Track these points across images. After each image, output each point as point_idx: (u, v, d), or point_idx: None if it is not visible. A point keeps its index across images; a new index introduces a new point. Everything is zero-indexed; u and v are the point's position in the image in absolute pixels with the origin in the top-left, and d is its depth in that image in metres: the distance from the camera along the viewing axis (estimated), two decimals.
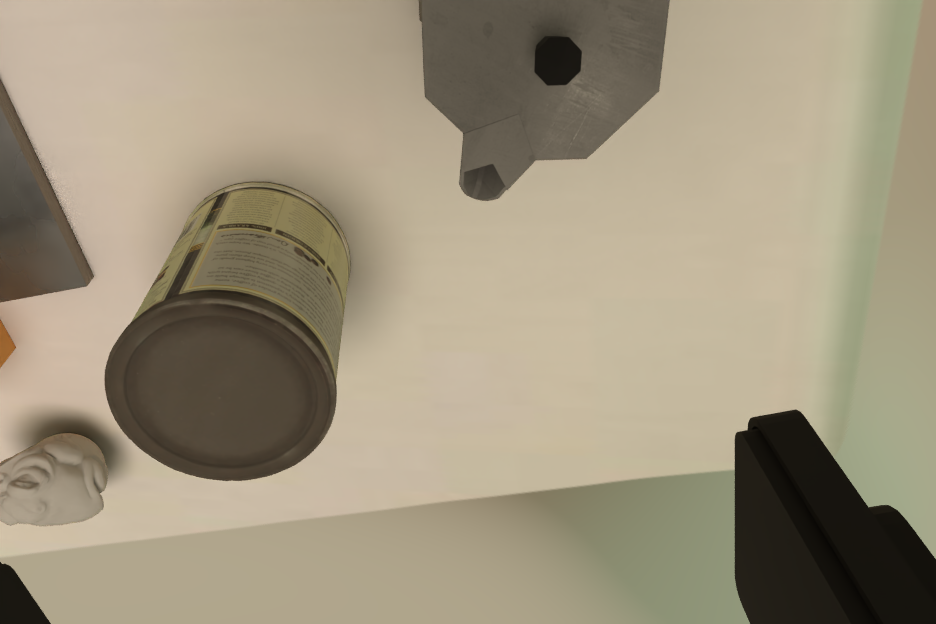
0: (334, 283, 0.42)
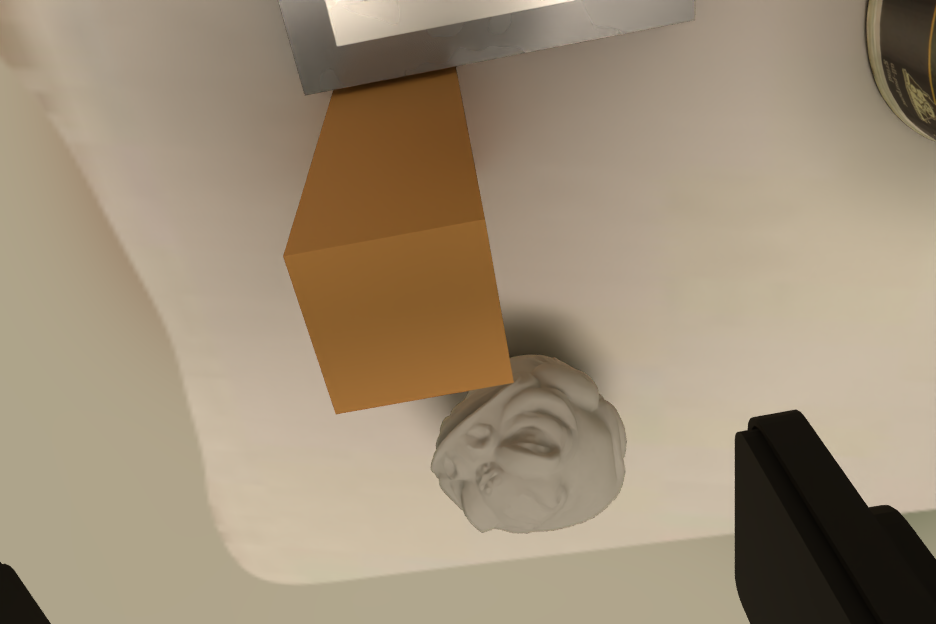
0: None
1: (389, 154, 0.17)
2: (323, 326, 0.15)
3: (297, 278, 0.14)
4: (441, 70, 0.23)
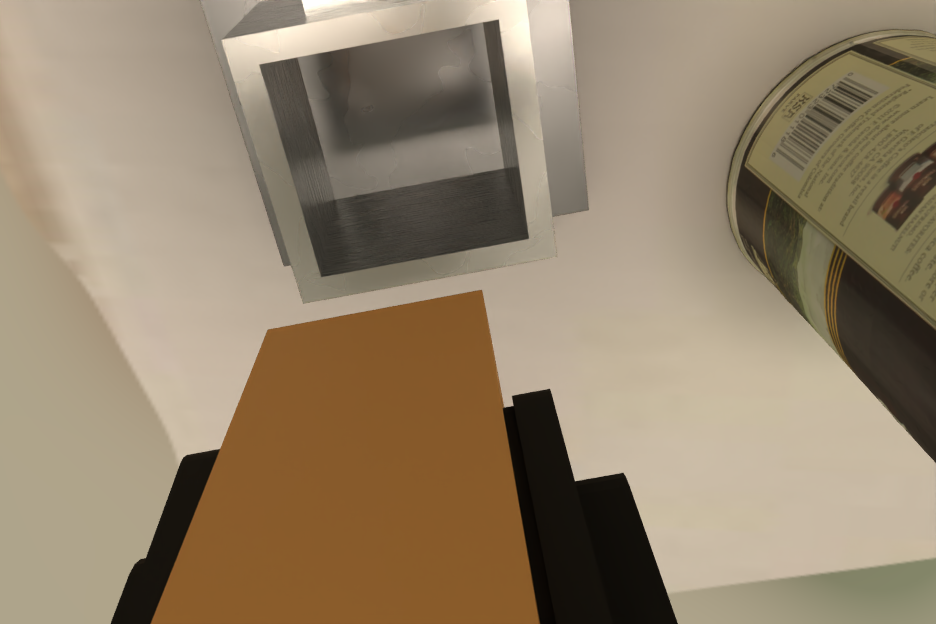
0: None
1: None
2: None
3: None
4: (458, 309, 0.12)
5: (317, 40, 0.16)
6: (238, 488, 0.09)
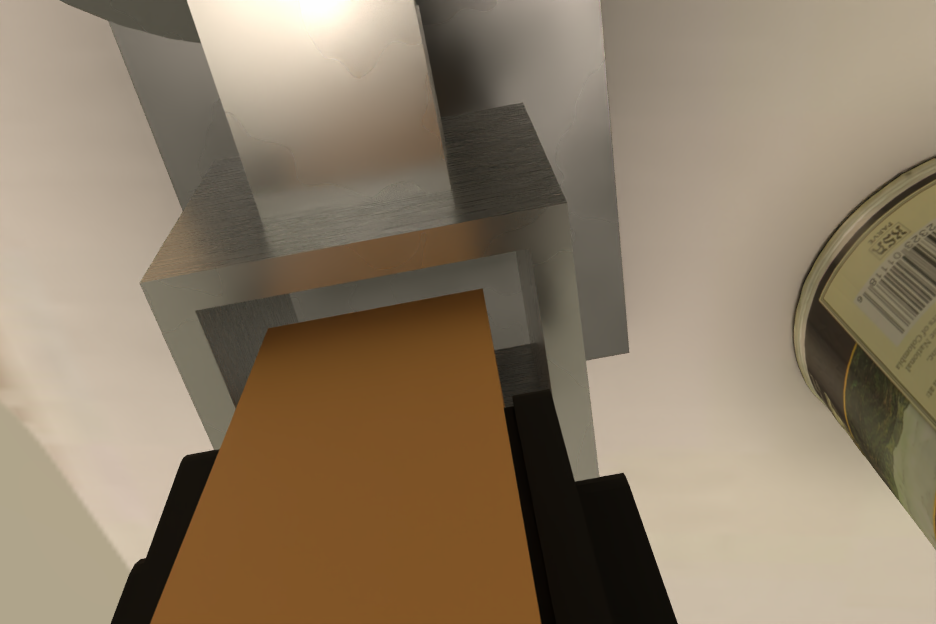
0: None
1: None
2: None
3: None
4: (459, 308, 0.12)
5: (275, 280, 0.11)
6: (238, 487, 0.09)
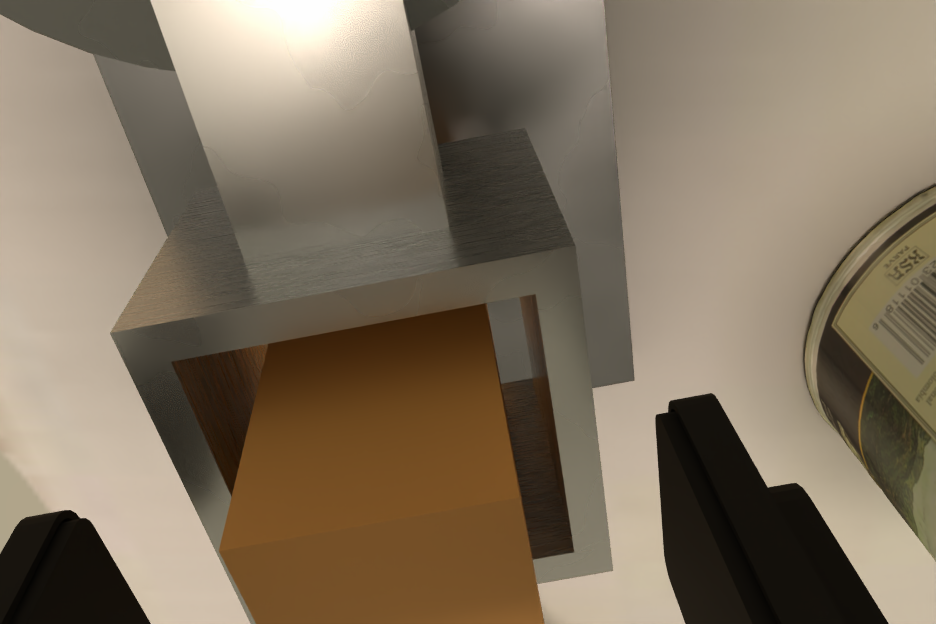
0: None
1: (376, 325, 0.13)
2: None
3: (241, 575, 0.10)
4: None
5: (258, 329, 0.11)
6: None
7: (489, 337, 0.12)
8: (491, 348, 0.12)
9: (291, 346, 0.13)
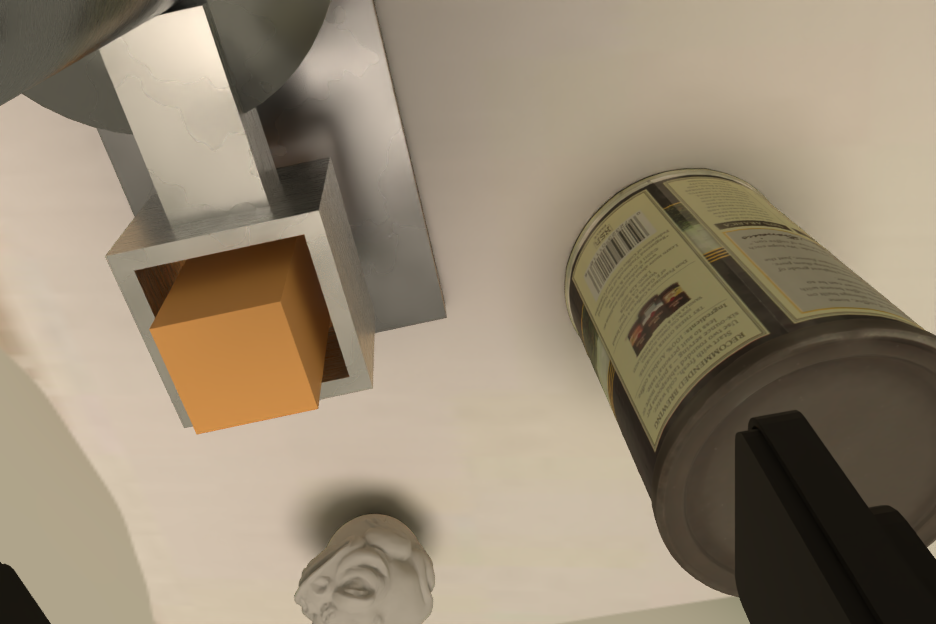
0: None
1: (240, 250, 0.25)
2: (181, 374, 0.22)
3: (160, 343, 0.21)
4: None
5: (174, 253, 0.23)
6: None
7: (292, 251, 0.24)
8: (291, 255, 0.24)
9: (196, 262, 0.25)
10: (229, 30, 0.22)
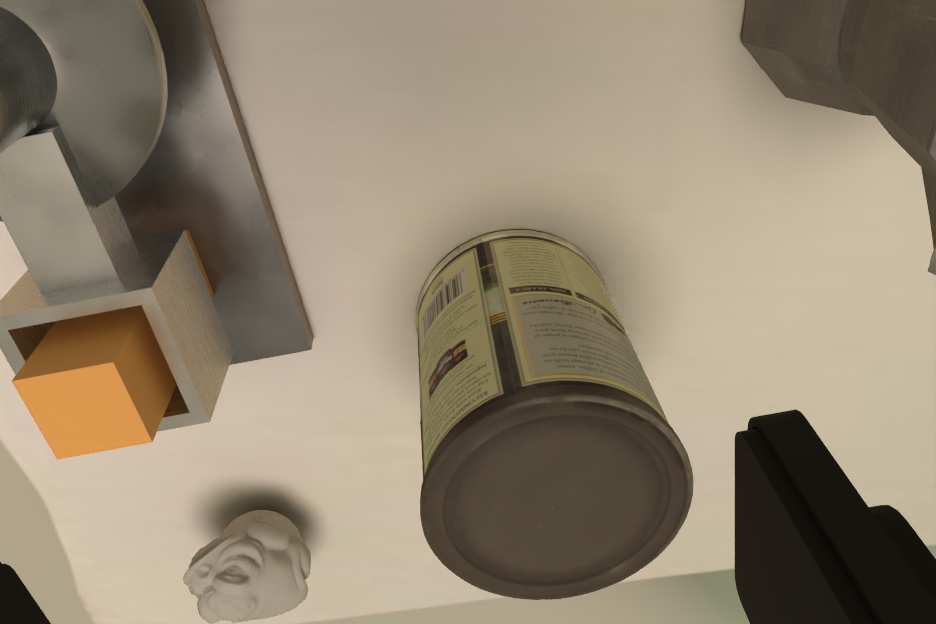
0: None
1: None
2: (40, 414, 0.28)
3: (21, 391, 0.27)
4: None
5: (38, 317, 0.29)
6: None
7: (140, 313, 0.30)
8: (137, 317, 0.30)
9: None
10: (78, 146, 0.28)
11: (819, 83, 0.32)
